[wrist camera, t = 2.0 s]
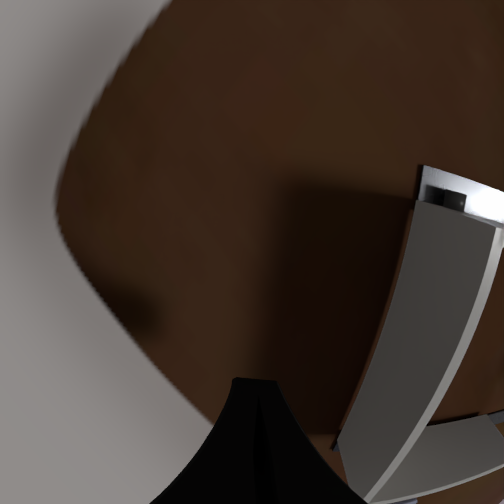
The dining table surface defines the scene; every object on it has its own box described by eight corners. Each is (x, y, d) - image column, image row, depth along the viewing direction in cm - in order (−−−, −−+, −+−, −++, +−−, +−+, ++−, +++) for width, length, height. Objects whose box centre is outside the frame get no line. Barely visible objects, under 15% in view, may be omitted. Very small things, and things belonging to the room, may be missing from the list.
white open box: (478, 425, 16) (507, 469, 11) (332, 446, 15) (349, 515, 11) (560, 230, 12) (617, 254, 7) (418, 181, 11) (501, 200, 6)
